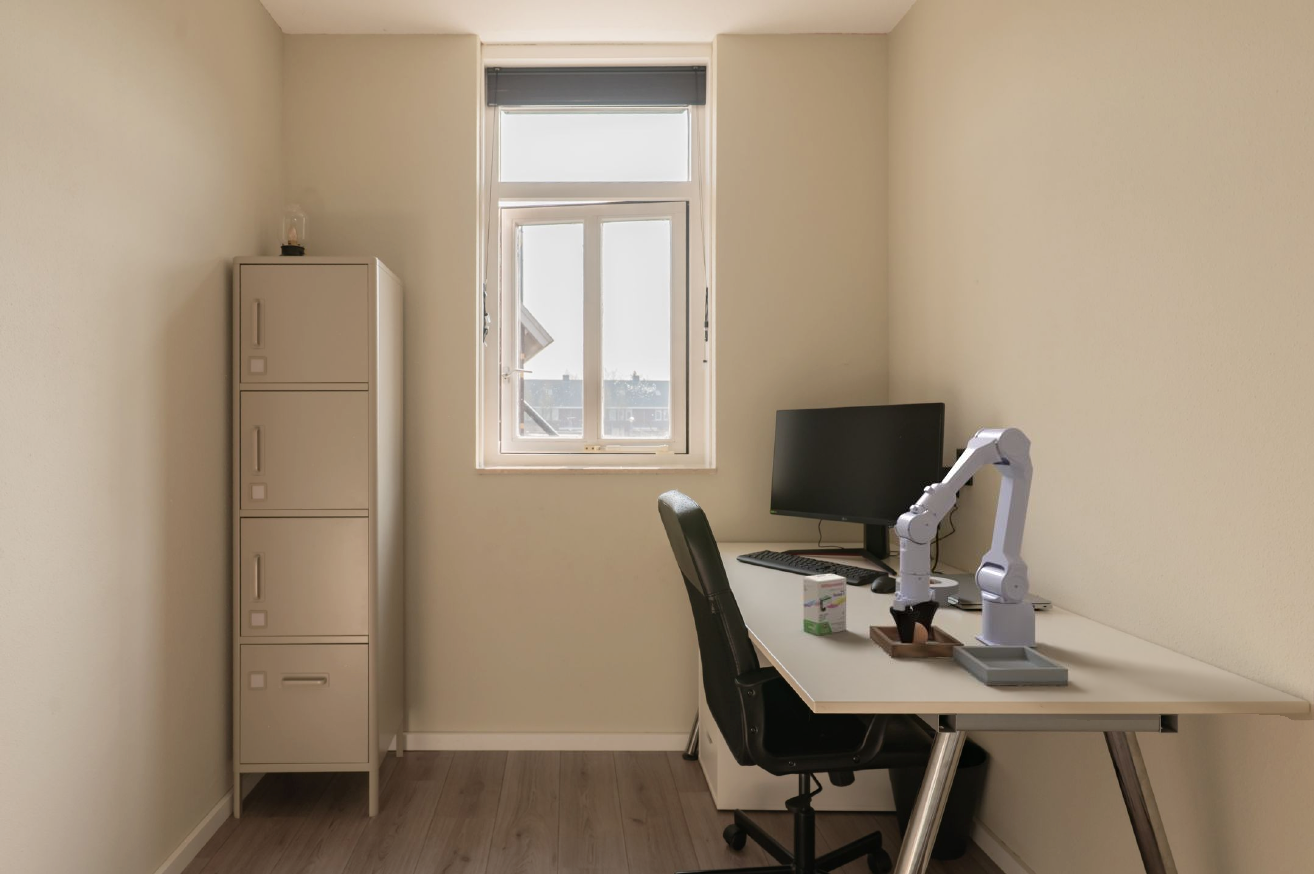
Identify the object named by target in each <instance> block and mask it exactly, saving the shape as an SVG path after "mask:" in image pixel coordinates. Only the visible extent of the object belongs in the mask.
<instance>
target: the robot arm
mask: <svg viewBox="0 0 1314 874" xmlns="http://www.w3.org/2000/svg"><path fill="white" fill-rule="evenodd" d="M1031 444H1032V442H1031V440H1030V439H1029V438H1028V437H1027V436H1026V434H1025V432H1024V431H1022V430H1021V429H1019V428H1016V427H1008V428H991V427H984V428H980V429H979V430H978V431H977V432H976V433H975V435H974V437H972V438H971V439H969V441H968V443H967V447H966V449H965V450H964V451H963V453H962V454H961V456H959V458H958V460H957V461H956V462H955V464H954V465H953V466H952V468H951V469H950V471H948V473H947V475H946V476H945V477H944V478H943V480H942V482H939V483H932V484H931V485H927V486H926V487H925V488H924V489H923V492H924V493H923V494H922V496H921V497H920V498H919V499H918V500H917V502H916V503H915V504H912V505H911V506H910V507H909V511H907V512H905V513H902V514H901V515H900V516H899V517H898V518H897V520H896V524H895V525H894V526H893V528H894V532H895V534H896V536H897V537H898V539H899V578H900V591H897V592H896V591H895V592H894V597H895V599H893V605H892V606H889V613H890V614H891V617H892V618H893V621H894V624H895V626H897V629H898V633H899V637H900V639H899V641H900V643H913V639H914V630H915V625H916V622H917V623H920V624H922V625H923V626H924V627H925V628H926V630H927V633H928V636H929V632H930V628H931V626H932V624H933V621H934V617H935V614H936V612H937V611H938V609H939V608H940V606H939V602H936V601H932V600H934V599H935V590H932V589H930V577H931V541H932V540H933V539H935V537H936V536H937V531H938V528H937V527H938V525H939V524H940V522H941V521H942V519H943V518H944V517H945V516H946V515H947V513H948V512H949V511H950V510H951V509H952V508H953V507H954V505H955V504H956V502H957V495H956V494H957V493H958V491H960V489H962V487H963V486H964V485H965V484H966V483H967V482H968V481H969V480H970V479H971V477H973V476H974V475H975V474H976V472H977V471H978V470H979V469H980V468H981V467H983V466H985V465H993V466H994V467H995V469H997V471H998V472H999V473H1000V474H1001V482H1000V483H1001V484H1000V489H999V496H998V501H997V509H996V516H995V521H994V527H993V535H992V541H991V547H990V549H989V551H987V552H986V553H985V554H984V555H983V556H982V559H981V562H980V563H981V564H980V566H979V567H978V569H977V571H976V572H975V575H974V576H975V577H974V582H975V584H976V587H977V588H978V589H979V590H980V595H981V596H982V602H981V603H982V608H981V613H982V616H981V617H982V619H981V624H982V625H981V626H982V627H981V633H982V634H974V638H975V639H977V640H979V641H980V642H982V643H984V644H985V645H986V646H1028V647H1029V648H1037V647H1038V644H1036V611H1035V608H1034V605H1033V603H1031V601H1030V600H1028V599H1024V598H1026V596H1027V595H1028V592H1029V588H1030V582H1029V579H1028V565H1027V563H1026V562H1025V560H1024V559H1023V558H1022V556H1021V551H1022V544H1023V537H1024V530H1025V526H1026V519H1027V513H1028V507H1029V501H1030V500H1029V498H1030V492H1031V486H1032V480H1033V472H1034V468H1033V464H1032V459H1031V454H1030V449H1031ZM896 596H897V598H896Z"/></svg>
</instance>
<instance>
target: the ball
mask: <svg viewBox="0 0 1314 874" xmlns="http://www.w3.org/2000/svg"><path fill="white" fill-rule="evenodd" d="M928 640H929V639H928V633H927V630H926V628H925V627H924V626H923V625H922V624H920V623H917V622H916V625H915V630H914V639H913V643H928Z"/></svg>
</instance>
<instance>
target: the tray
mask: <svg viewBox="0 0 1314 874" xmlns="http://www.w3.org/2000/svg"><path fill="white" fill-rule="evenodd" d="M952 662H954V663H955V662H956V663H955V664H957V665H958V666H959V665H960V666H959V667H960V668H961V669H962V670H963V669H964V671H966V672H967V671H968V672H967V673H968V674H970V673H971V674H970V675H971V676H972V677H974V678H975V677H976V679H977V680H978V679H979V680H980V681H979V680H978V681H979V682H981V683H982V682H983V683H984V684H983V683H982V684H983V685H985V686H986V685H1021V686H1022V685H1061V686H1064V687H1065V686H1069V668H1067V667H1065V666H1064V665H1061V664H1060V663H1058V662H1057V661H1054V660H1053V659H1051V658H1049V657H1047V656H1046V655H1043V654H1042V653H1040V652H1038V651H1036V650H1035V649H1033V648H1032V647H1028V646H988V645H964V646H953V658H952ZM1021 686H1020V687H1021Z"/></svg>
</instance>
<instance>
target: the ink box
mask: <svg viewBox="0 0 1314 874" xmlns="http://www.w3.org/2000/svg"><path fill="white" fill-rule="evenodd" d="M802 585H803V588H802V589H803V592H802V593H803V597H802V598H803V599H802V600H803V604H802V605H803V612H802V613H803V617H802V618H803V631H804V632H807V633H810V634H813V635H817V636H822V634H823V635H829V634H834V633H837V632H838V631H839V632H844V631H847V577H844V576H842V575H838V574H835V573H825V574H815V575H807V576H805V577H803V583H802ZM839 632H838V633H839Z"/></svg>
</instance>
